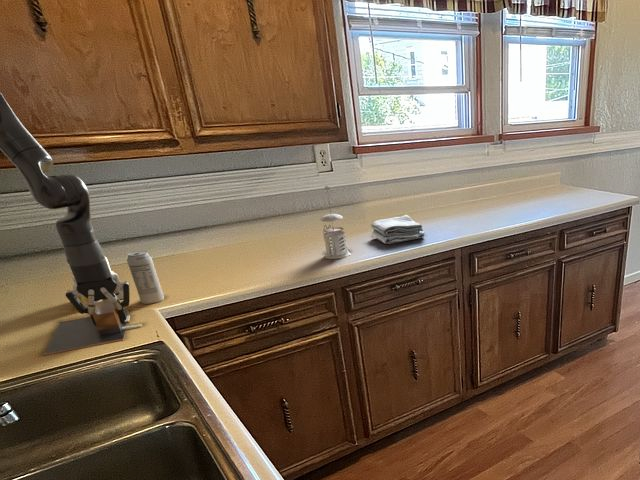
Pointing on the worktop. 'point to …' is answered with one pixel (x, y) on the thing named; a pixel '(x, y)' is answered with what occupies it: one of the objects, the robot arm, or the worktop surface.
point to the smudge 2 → (131, 326)
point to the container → (117, 290)
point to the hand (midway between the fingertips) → (111, 323)
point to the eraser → (107, 318)
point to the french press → (334, 236)
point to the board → (80, 335)
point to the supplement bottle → (81, 297)
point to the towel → (396, 229)
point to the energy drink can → (145, 277)
